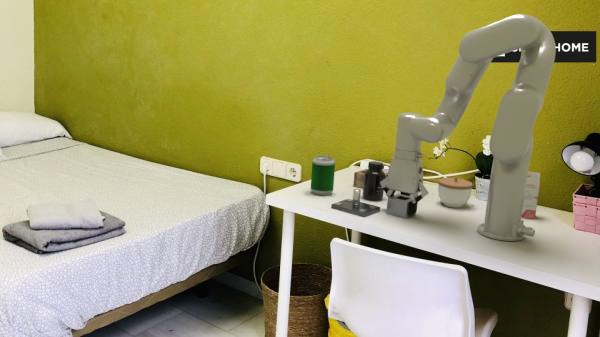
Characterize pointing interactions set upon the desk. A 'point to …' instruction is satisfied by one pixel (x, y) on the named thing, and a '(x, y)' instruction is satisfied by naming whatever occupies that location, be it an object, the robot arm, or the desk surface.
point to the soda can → (322, 175)
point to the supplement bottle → (373, 181)
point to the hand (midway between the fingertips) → (401, 211)
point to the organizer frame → (360, 177)
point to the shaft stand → (356, 205)
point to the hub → (399, 205)
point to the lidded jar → (454, 191)
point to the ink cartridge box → (531, 195)
